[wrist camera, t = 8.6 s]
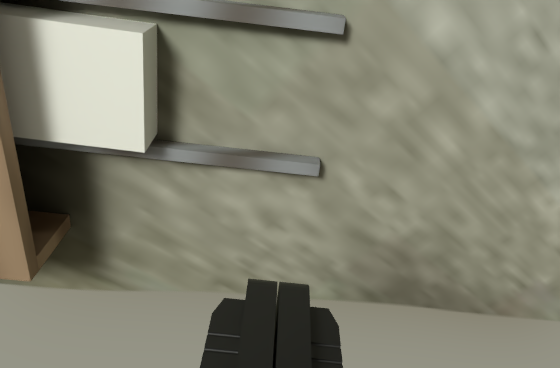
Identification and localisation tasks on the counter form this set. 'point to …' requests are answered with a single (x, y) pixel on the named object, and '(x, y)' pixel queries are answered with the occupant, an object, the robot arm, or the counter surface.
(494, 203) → the counter surface
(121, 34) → the cream rectangular block
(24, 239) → the overhang
